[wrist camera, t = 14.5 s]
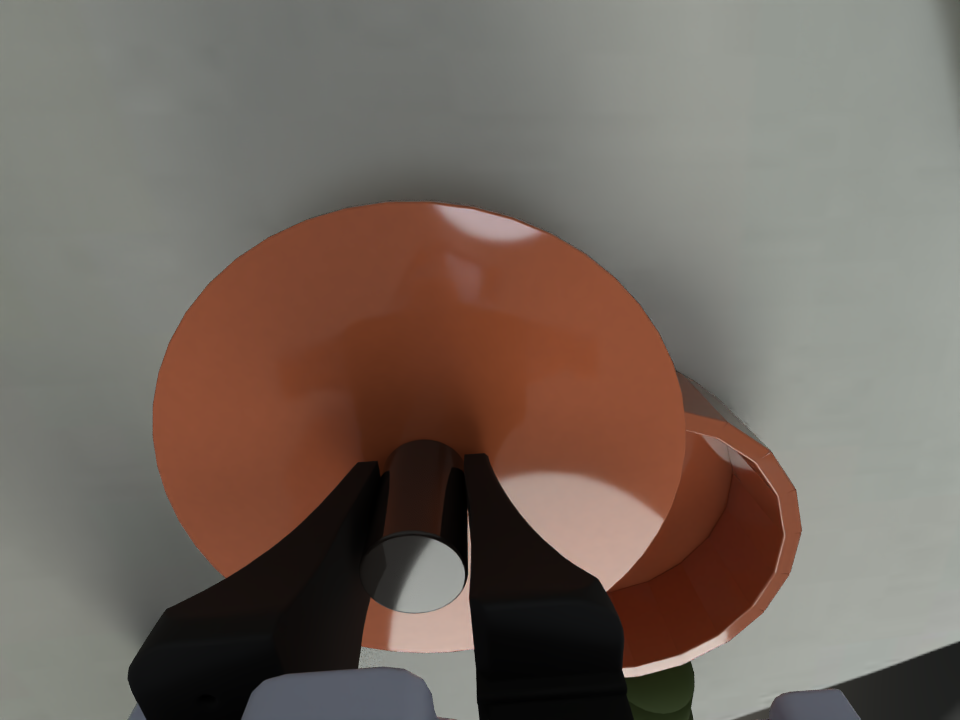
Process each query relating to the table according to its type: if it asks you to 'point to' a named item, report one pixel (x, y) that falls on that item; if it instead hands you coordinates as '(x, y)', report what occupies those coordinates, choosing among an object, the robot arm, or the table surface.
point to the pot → (709, 544)
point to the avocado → (662, 694)
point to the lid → (419, 402)
